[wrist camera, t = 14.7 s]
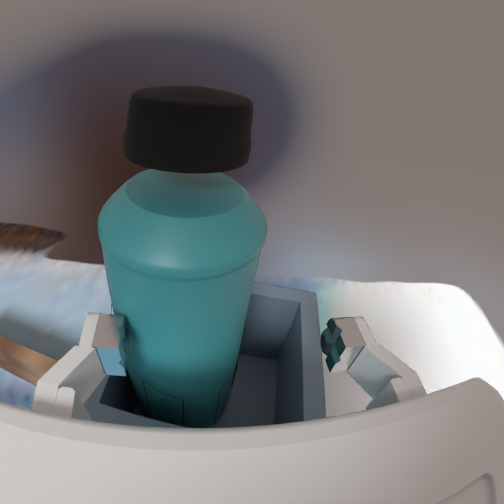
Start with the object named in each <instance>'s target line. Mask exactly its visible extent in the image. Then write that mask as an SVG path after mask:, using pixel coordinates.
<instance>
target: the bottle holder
mask: <svg viewBox="0 0 504 504" xmlns="http://www.w3.org/2000/svg"><path fill="white" fill-rule="evenodd" d="M245 330H246V332H245ZM242 338H243V340H241V342H242V343H241V346H240V349H239V353H240V352H241V353H240V354H238V358H237V363H238V368H237V370H236V374H235V378H234V382H233V386H232V384H231V390H232V392H231V390H230V392H231V393H230V392H229V395H231V397H230V396H229V397H228V398H230V401H229V399H228V402H227V406H226V408H225V409H226V411H224V412H223V413H224V414H225V415H223V414H222V415H223V416H221V417H220V418H219V419H218V420H217V421H216V422H215V425H214V424H213V425H212V426H210V427H209V428H231V427H250V426H263V425H274V424H284V423H293V422H301V421H308V420H315V419H321V418H326V411H325V393H324V378H323V364H322V351H321V344H320V340H321V339H320V328H319V317H318V307H317V298H316V293H314V292H308V291H302V290H296V289H290V288H285V287H279V286H273V285H268V284H262V283H257V282H254V283H253V287H252V292H251V296H250V301H249V305H248V310H247V314H246V319H245V323H244V328H243V335H242ZM239 359H240V360H239ZM128 381H129V378H128V374H127V371H126V376H117V375H105V377H104V379H103V380H102V381H101V382H100V384H99V385H98V386H97V388H96V389H95V390H94V391H93V393H92V394H91V395H90V397H89V398H88V399H87V400H86V402H85V403H84V404H83V405H84V407H85V409H86V410H87V412H88V413H89V415H90V416H91V418H92V421H96V422H103V423H112V424H121V425H132V426H145V427H163V428H187V427H183V426H178V425H174V424H169V423H165V422H161V421H157V420H154V419H150V418H146V417H144V416H143V415H144V414H143V413H142V411H141V409H138V408H140V407H139V404H138V402H137V400H136V402H137V404H136V402H135V400H134V396H135V393H134V396H133V394H132V391H131V388H130V385H131V386H132V383H131V384H130V385H129V383H130V381H129V382H128ZM132 388H133V386H132ZM135 399H136V396H135ZM137 405H138V406H137ZM139 411H141V412H139ZM222 417H223V418H222ZM221 418H222V419H221ZM217 422H218V423H217ZM216 423H217V424H216Z"/></svg>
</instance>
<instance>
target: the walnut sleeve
mask: <svg viewBox="0 0 504 504" xmlns="http://www.w3.org/2000/svg"><path fill="white" fill-rule="evenodd" d="M57 362H58V360H56V359H53V358H51V357H48V356H46V355H43V354H41V353H39V352H36V351H34V350H32V349H29V348H27V347H25V346H23V345H21V344H18V343H16V342H14V341H12V340H10V339H8V338H6V337H4V336H2V335H0V367H1V368H3V369H5V370H7V371H9V372H10V373H12V374H14V375H16V376H18V377H20V378H22V379H24V380H26V381H28V382H30V383H32V384H34V385H36V386H37V382H38V380H39V379H40V378H41V377H42V376H43V375H44V374H45V373H46V372H47V371H48V370H50V369H51V368H52V367H53V366H54V365H55V364H56V363H57Z"/></svg>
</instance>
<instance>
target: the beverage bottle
mask: <svg viewBox="0 0 504 504" xmlns="http://www.w3.org/2000/svg"><path fill="white" fill-rule="evenodd" d="M252 117H253V103H252V101H251V100H250V99H248V98H246V97H244V96H242V95H239V94H235V93H232V92H228V91H223V90H217V89H212V88H207V87H199V86H180V85H179V86H159V87H149V88H144V89H140V90H137V91H136V92H134V93H133V94H132V96H131V98H130V101H129V109H128V117H127V125H126V131H125V134H124V143H123V152H124V155H125V157H126V158H127V159H129V160H130V161H131V162H133V163H135V164H138V165H140V166H143V167H146V168H150V169H149V170H145V171H143V172H140V173H138V174H137V175H135V176H133V177H132V178H131V179H129V180H128V181H127V182H126V183H124V184H123V185H122V186H121V187H120V188H119V189H118V190H117V191H116V192H115V193H114V194H113V195H112V196H111V197H110V198H109V199H108V201H107V202H106V203H105V205H104V206H103V208H102V210H101V213H100V215H99V218H98V232H99V238H100V241H101V243H102V249H103V256H104V263H105V269H106V275H107V281H108V287H109V292H110V297H111V302H112V305H111V314H112V307H113V312H114V315H122V316H126V321H127V326H126V328H127V329H128V332H129V337H130V344H129V353H128V354H127V355H126V357H127V361H128V363H127V374H128V378H129V381H130V383H129V385H130V384H131V383H132V386H133V388H132V386H131V385H130V388H131V391H132V394H133V396H134V393H135V396H136V399H135V396H134V400H135V402H136V400H137V402H138V404H139V407H140V408H138V409H141V411H142V413H143V414H144V415H143V416H144V417H146V418H150V419H154V420H157V421H161V422H165V423H169V424H174V425H178V426H183V427H187V428H209V427H210V426H212V425H213V424H214V425H215V422H216V421H217V420H218V419H219V418H220V417H221V416H223V415H225V414H224V413H223V412H224V411H226V409H225V408H226V406H227V402H228V399H229V401H230V398H228V397H229V396H230V397H231V395H229V392H230V390H231V384H232V386H233V382H234V378H235V374H236V370H237V368H238V363H237V358H238V354H240V353H241V352H240V353H239V349H240V346H241V343H242V342H241V340H243V338H242V335H243V328H244V323H245V319H246V314H247V310H248V305H249V301H250V296H251V292H252V287H253V283H254V278H255V274H256V269H257V265H258V260H259V256H260V251H261V248H262V247H263V244H264V242H265V238H266V233H267V224H266V220H265V216H264V214H263V212H262V211H261V209H260V207H259V206H258V204H257V203H256V201H255V200H254V199H253V198H252V197H251V195H250V194H249V193H248V192H247V191H246V190H245V189H244V188H243V187H242V186H241V185H240V184H239V183H238V182H237V181H235V180H234V179H232V178H231V177H229V176H227V175H225V174H222V173H220V172H224V171H229V170H233V169H236V168H239V167H241V166H243V165H244V164H246V163H247V162H248V159H249V154H250V149H251V137H250V136H251V126H252ZM245 332H246V330H245ZM239 360H240V359H239ZM129 381H128V382H129ZM231 392H232V390H231ZM231 392H230V393H231ZM137 402H136V404H137ZM137 406H138V405H137ZM141 411H139V412H141ZM222 414H223V415H222ZM222 418H223V417H222ZM222 418H221V419H222ZM217 423H218V422H217ZM217 423H216V424H217Z"/></svg>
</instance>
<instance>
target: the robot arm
mask: <svg viewBox="0 0 504 504" xmlns="http://www.w3.org/2000/svg"><path fill="white" fill-rule="evenodd" d="M126 326H127V321H126V316H122V315H112V314H102V313H92V312H88V314H87V315H86V319H85V322H84V326H83V330H82V334H81V337H80V341H79V345H78V346H74V347H73V348H72V349H71V350H70V351H69V352H67V353H66V354H65V355H64V356H63V357H62V358H61V359H60V360H59V361H58V362H57V363H56V364H55V365H54V366H53V367H52V368H51V369H50V370H48V371H47V372H46V373H45V374H44V375H43V376H42V377H41V378H40V379H39V380H38V382H37V386H36V390H35V394H34V398H33V402H32V407H31V409H27V408H23V407H19V406H15V405H12V404H8V403H5V402H1V401H0V504H504V400H503V399H502V397H501V395H500V394H499V392H498V391H497V390H496V389H495V388H493V387H492V386H491V385H489V384H488V383H487V382H485V381H484V380H482V379H481V378H472V379H469V380H467V381H464V382H461V383H459V384H456V385H453V386H450V387H447V388H444V389H441V390H438V391H435V392H432V393H429V394H427V393H426V391H425V389H424V387H423V385H422V383H421V381H420V379H419V377H418V375H417V373H416V372H415V371H414V370H412V369H411V368H410V367H408V366H407V365H406V364H405V363H403V362H402V361H401V360H399V359H398V358H397V357H395V356H394V355H393V354H391V353H390V352H389V351H388V350H386V349H385V348H384V347H382V346H381V345H377V343H376V341H375V339H374V337H373V335H372V333H371V331H370V329H369V327H368V325H367V323H366V321H365V319H364V318H363V317H344V318H331V319H330V320H329V321H328V322H327V326H328V328H327V329H325V330H324V331H323V333H322V335H321V340H320V344H321V349H322V352H323V353H325V354H326V355H327V358H326V363H327V366H328V369H329V372H330V373H333V372H343V371H347V373H348V374H349V375H350V376H351V377H352V378H353V379H354V380H355V381H356V382H357V383H358V384H359V385H360V386H361V387H362V388H363V389H364V390H365V391H366V392H367V393H368V394H369V395H370V396H371V397H372V398H373V400H372V401H371V402H370V403H369V404H368V405H367V407H366V410H364V411H360V412H355V413H350V414H345V415H339V416H334V417H328V418H321V419H315V420H308V421H301V422H293V423H284V424H274V425H263V426H250V427H231V428H163V427H145V426H132V425H121V424H112V423H103V422H96V421H92V418H91V416H90V415H89V413H88V412H87V410H86V409H85V407H84V405H83V404H84V403H85V402H86V400H87V399H88V398H89V397H90V395H91V394H92V393H93V391H94V390H95V389H96V388H97V386H98V385H99V384H100V382H101V381H102V380H103V379H104V377H105V375H117V376H126V371H127V363H128V361H127V357H126V355H127V354H128V353H129V344H130V337H129V332H128V329H127V328H126Z"/></svg>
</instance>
